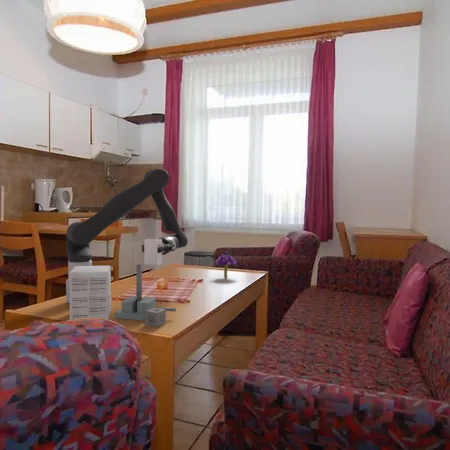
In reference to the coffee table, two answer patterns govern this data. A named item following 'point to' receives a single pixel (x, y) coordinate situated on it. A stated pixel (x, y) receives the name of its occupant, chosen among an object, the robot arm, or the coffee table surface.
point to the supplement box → (90, 292)
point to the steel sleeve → (152, 252)
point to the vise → (138, 302)
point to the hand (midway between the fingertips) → (151, 250)
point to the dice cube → (155, 317)
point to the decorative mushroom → (226, 261)
